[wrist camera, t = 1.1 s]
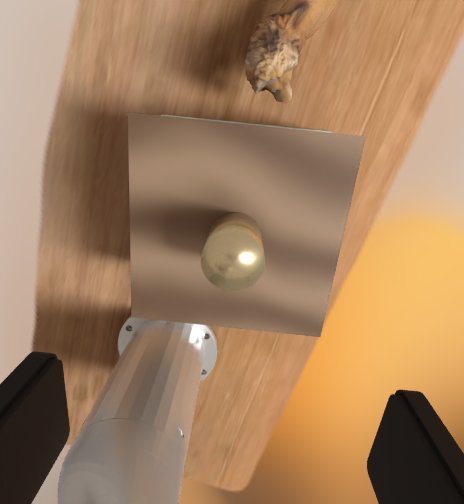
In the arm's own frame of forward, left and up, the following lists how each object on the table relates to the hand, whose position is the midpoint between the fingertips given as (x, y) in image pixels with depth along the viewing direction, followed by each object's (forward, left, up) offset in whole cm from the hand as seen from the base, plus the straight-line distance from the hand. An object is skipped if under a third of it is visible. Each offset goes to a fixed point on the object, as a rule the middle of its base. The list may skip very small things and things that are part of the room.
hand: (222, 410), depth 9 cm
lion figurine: (+16, -4, -28) cm, 32 cm away
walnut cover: (0, 0, -27) cm, 27 cm away
